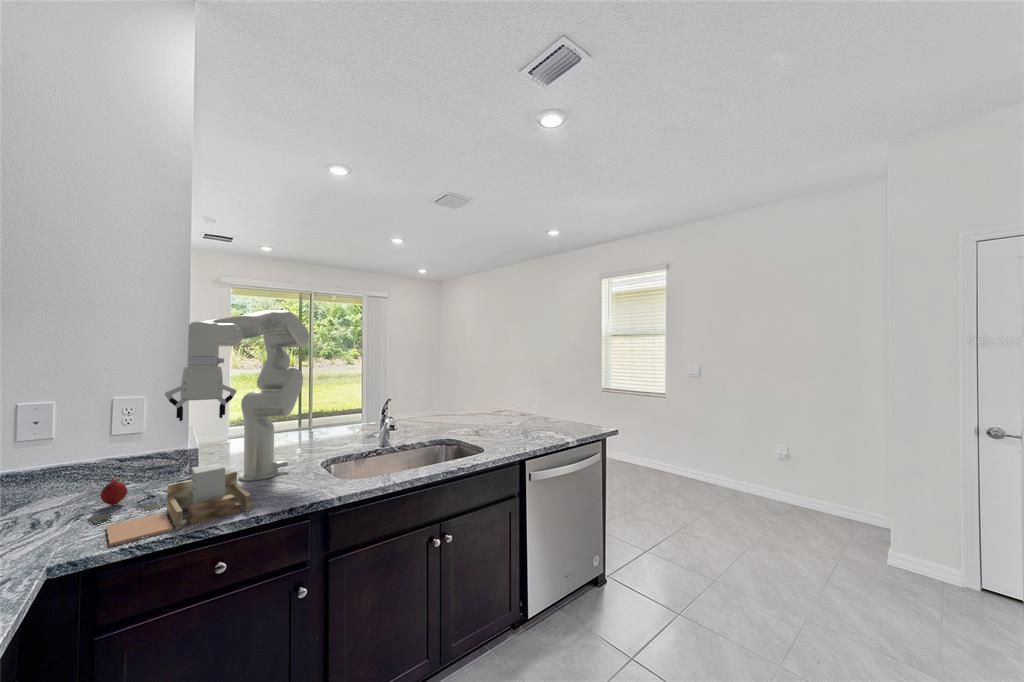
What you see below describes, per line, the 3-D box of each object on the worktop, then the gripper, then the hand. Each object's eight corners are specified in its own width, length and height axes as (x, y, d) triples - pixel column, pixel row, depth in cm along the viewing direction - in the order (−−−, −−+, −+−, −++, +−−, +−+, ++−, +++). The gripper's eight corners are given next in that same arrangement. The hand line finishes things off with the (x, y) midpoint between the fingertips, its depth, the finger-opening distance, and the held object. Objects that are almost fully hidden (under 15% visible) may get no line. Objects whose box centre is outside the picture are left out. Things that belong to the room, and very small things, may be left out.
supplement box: (220, 502, 128) (221, 462, 128) (225, 509, 123) (225, 467, 123) (190, 509, 123) (191, 467, 123) (194, 517, 118) (194, 472, 118)
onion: (110, 510, 122) (110, 483, 122) (95, 508, 123) (95, 481, 123) (132, 502, 128) (132, 476, 128) (117, 501, 129) (117, 475, 129)
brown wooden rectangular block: (236, 509, 124) (236, 492, 124) (240, 512, 121) (241, 495, 121) (186, 523, 114) (186, 505, 114) (190, 526, 112) (191, 508, 112)
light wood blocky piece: (235, 495, 134) (235, 471, 134) (250, 510, 123) (250, 483, 123) (167, 511, 121) (167, 484, 121) (176, 529, 110) (177, 499, 110)
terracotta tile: (164, 515, 119) (164, 512, 119) (172, 530, 109) (172, 527, 109) (106, 528, 110) (106, 525, 110) (109, 546, 100) (109, 543, 100)
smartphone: (163, 506, 123) (93, 525, 111) (163, 509, 123) (93, 528, 111) (155, 501, 128) (86, 518, 115) (155, 504, 128) (86, 521, 115)
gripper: (236, 362, 133) (234, 415, 133) (166, 362, 123) (164, 420, 122) (238, 362, 127) (236, 418, 127) (165, 362, 117) (163, 423, 116)
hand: (201, 419), depth 124 cm, fingers open, 9 cm apart
